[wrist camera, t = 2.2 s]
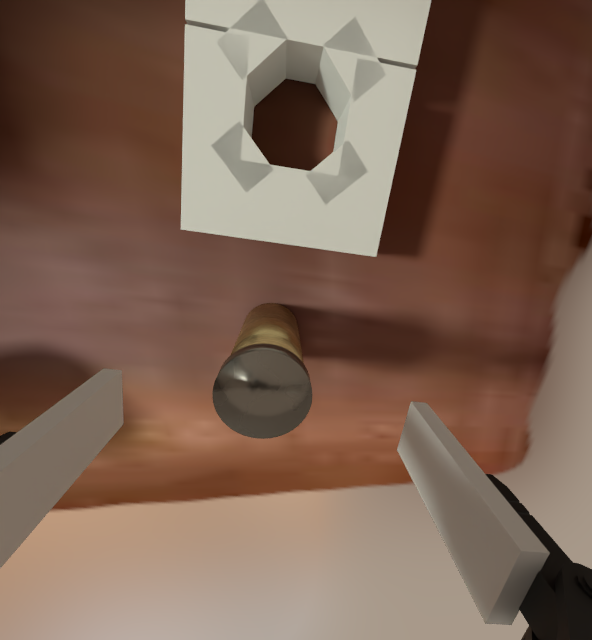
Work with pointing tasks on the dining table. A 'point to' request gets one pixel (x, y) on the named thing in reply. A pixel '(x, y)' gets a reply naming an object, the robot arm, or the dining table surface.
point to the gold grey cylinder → (264, 376)
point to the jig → (336, 88)
